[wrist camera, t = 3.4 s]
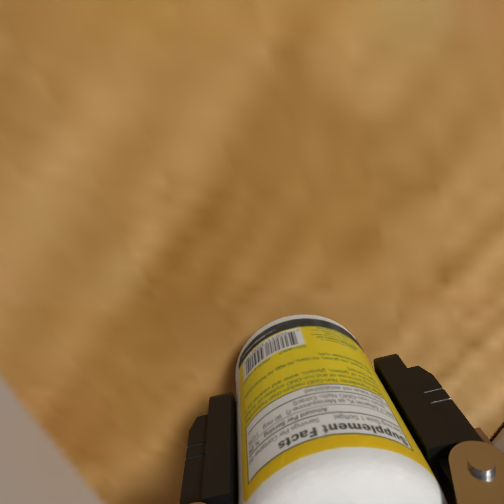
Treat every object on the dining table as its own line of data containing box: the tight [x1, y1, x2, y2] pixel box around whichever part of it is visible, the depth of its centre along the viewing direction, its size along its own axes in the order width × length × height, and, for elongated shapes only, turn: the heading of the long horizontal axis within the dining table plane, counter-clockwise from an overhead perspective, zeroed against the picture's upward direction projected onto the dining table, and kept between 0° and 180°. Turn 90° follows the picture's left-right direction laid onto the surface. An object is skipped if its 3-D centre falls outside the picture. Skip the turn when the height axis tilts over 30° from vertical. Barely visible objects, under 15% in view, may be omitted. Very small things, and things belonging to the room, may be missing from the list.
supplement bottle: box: [235, 315, 448, 504], centre depth 10 cm, size 5×5×8 cm
